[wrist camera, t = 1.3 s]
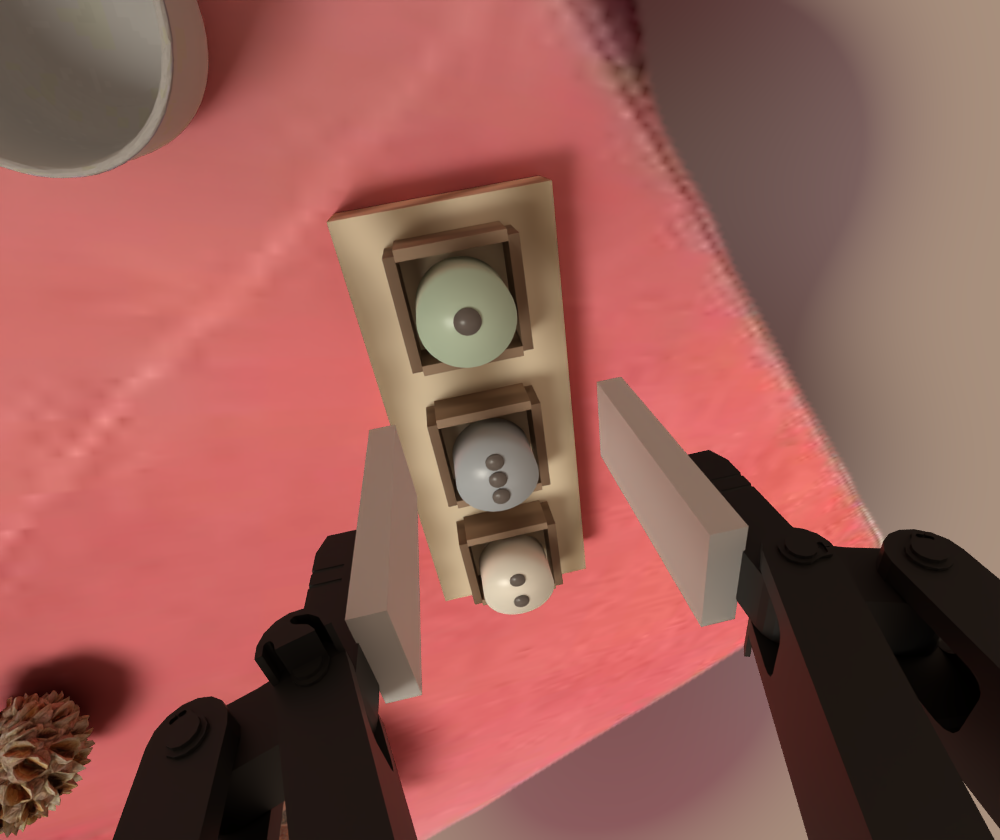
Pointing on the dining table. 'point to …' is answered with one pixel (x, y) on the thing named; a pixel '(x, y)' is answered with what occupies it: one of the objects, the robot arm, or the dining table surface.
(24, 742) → the pine cone
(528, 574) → the button two
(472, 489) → the button three
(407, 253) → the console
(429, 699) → the dining table surface
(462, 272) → the button one
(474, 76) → the dining table surface
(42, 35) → the teacup
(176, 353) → the dining table surface
